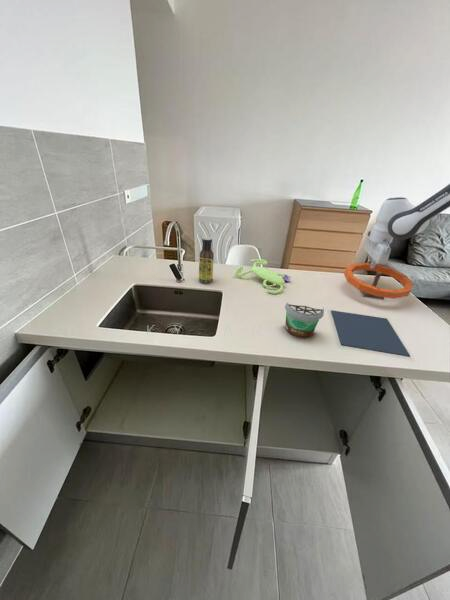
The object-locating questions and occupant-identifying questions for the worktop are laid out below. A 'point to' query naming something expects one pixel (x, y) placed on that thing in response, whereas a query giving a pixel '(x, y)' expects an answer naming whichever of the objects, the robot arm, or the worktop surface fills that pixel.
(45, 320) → the worktop surface
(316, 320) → the food container
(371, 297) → the post
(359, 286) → the ring
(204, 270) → the sauce bottle
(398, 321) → the worktop surface
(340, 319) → the mat
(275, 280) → the figurine
